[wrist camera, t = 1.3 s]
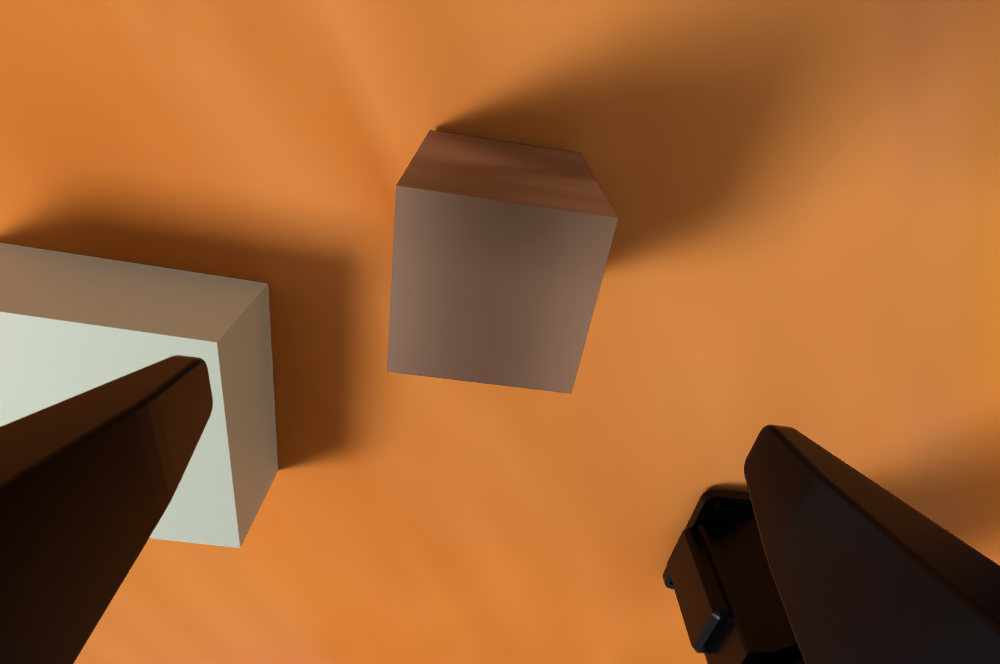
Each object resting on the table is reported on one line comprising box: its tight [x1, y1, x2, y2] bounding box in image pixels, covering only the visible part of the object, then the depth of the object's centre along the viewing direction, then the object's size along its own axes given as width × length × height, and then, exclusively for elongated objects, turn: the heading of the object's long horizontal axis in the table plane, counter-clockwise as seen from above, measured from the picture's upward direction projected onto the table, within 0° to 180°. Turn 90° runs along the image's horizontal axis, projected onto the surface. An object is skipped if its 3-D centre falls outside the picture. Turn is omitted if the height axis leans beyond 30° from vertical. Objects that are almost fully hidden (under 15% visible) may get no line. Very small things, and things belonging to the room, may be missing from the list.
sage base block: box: [0, 243, 278, 548], centre depth 19 cm, size 9×9×4 cm
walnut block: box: [387, 130, 618, 394], centre depth 14 cm, size 4×4×6 cm
